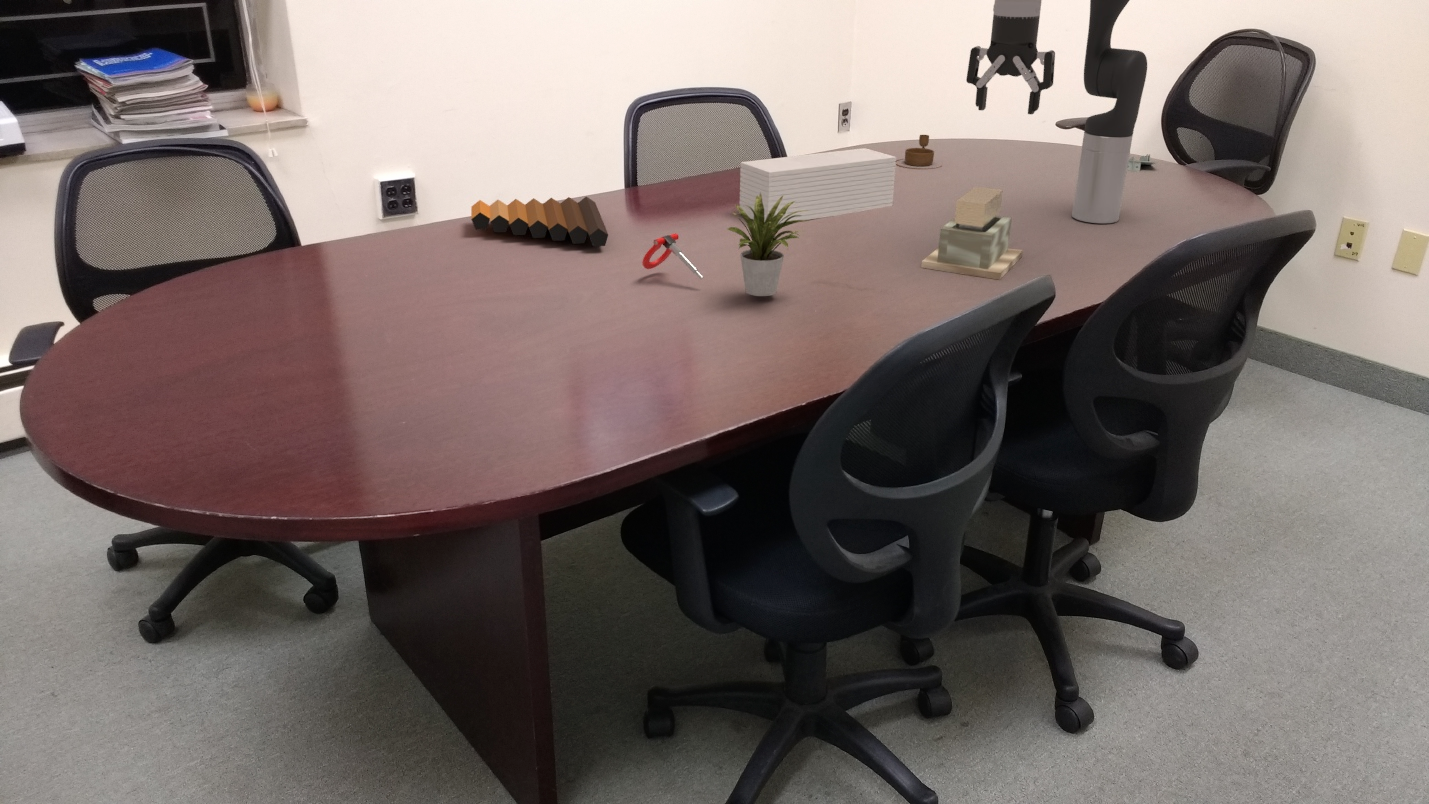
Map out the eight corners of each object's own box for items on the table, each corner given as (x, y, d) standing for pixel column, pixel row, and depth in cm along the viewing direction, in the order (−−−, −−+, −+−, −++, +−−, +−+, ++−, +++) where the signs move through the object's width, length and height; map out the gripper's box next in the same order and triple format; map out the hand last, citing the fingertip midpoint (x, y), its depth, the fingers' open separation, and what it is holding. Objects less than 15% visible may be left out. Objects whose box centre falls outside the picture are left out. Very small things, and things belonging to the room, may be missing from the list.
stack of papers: (861, 196, 244) (865, 148, 239) (892, 207, 235) (896, 157, 231) (739, 214, 228) (740, 162, 224) (767, 225, 220) (769, 172, 216)
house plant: (775, 313, 172) (779, 210, 165) (701, 297, 178) (702, 198, 171) (817, 289, 183) (822, 192, 176) (745, 275, 189) (748, 181, 183)
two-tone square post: (968, 245, 204) (975, 186, 199) (995, 249, 202) (1002, 189, 197) (950, 261, 194) (956, 200, 190) (978, 266, 192) (985, 204, 188)
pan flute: (608, 245, 205) (595, 212, 227) (608, 228, 203) (594, 196, 226) (471, 251, 200) (472, 216, 222) (470, 233, 199) (470, 200, 221)
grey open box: (947, 245, 208) (951, 208, 205) (1021, 256, 202) (1027, 218, 199) (921, 267, 195) (924, 227, 192) (999, 279, 189) (1004, 239, 186)
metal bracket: (1168, 154, 260) (1102, 151, 263) (1165, 179, 261) (1099, 175, 263) (1153, 159, 274) (1091, 156, 277) (1151, 183, 275) (1089, 180, 277)
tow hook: (661, 260, 195) (678, 230, 190) (698, 301, 192) (716, 271, 187) (635, 269, 190) (651, 238, 185) (673, 310, 187) (690, 280, 182)
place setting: (874, 168, 273) (875, 144, 270) (918, 156, 286) (921, 133, 284) (934, 179, 262) (936, 155, 260) (978, 167, 275) (980, 143, 273)
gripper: (1065, 12, 183) (1052, 111, 190) (980, 8, 189) (971, 104, 196) (1055, 16, 177) (1042, 119, 184) (968, 12, 183) (959, 111, 190)
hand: (1006, 111), depth 190 cm, fingers open, 8 cm apart
